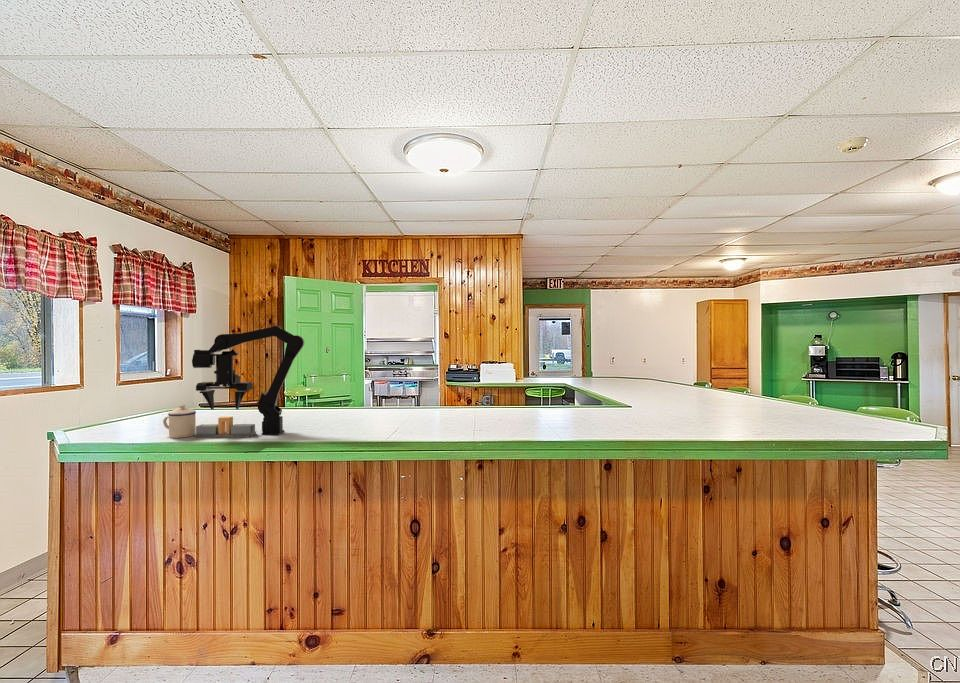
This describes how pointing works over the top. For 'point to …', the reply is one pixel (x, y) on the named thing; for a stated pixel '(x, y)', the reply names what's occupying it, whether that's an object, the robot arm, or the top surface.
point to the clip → (225, 425)
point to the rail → (236, 431)
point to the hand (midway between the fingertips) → (224, 409)
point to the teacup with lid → (181, 422)
